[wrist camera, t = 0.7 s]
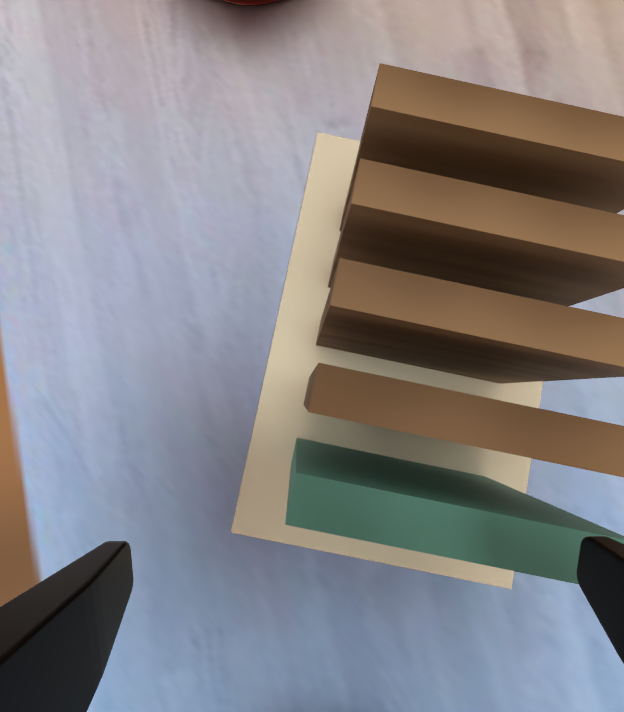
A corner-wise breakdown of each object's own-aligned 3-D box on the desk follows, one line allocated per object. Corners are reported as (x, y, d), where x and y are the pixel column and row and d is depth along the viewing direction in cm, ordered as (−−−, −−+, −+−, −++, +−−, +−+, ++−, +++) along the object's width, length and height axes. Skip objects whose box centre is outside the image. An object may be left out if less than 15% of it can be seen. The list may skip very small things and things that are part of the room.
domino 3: (490, 443, 25) (646, 481, 14) (303, 404, 24) (308, 412, 13) (494, 415, 25) (652, 432, 14) (309, 377, 25) (318, 362, 14)
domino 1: (518, 269, 26) (684, 174, 15) (339, 230, 25) (371, 105, 14) (522, 243, 26) (689, 131, 15) (344, 205, 26) (379, 63, 15)
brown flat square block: (499, 383, 25) (659, 374, 14) (315, 345, 25) (330, 305, 14) (504, 356, 25) (665, 326, 14) (321, 318, 25) (339, 258, 14)
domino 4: (480, 504, 24) (631, 594, 13) (290, 465, 24) (285, 524, 13) (484, 476, 24) (638, 542, 13) (296, 437, 24) (295, 472, 13)
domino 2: (509, 325, 25) (671, 272, 14) (327, 287, 25) (351, 203, 14) (513, 299, 25) (677, 226, 14) (332, 261, 25) (360, 158, 14)
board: (504, 583, 25) (511, 589, 24) (232, 527, 24) (230, 532, 24) (564, 193, 27) (572, 187, 26) (317, 140, 27) (317, 132, 26)
